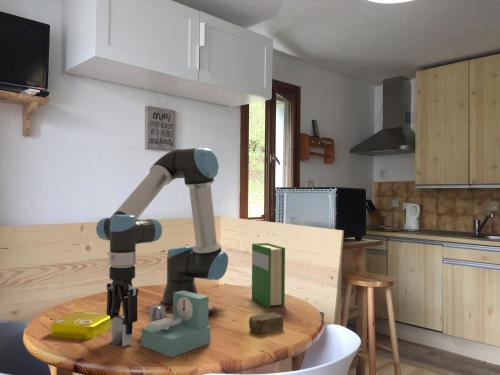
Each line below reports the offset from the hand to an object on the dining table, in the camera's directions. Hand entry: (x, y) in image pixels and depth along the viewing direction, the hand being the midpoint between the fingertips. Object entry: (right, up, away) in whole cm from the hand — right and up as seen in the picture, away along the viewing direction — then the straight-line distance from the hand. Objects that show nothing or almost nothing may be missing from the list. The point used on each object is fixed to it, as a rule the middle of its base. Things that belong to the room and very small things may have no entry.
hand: (121, 342), depth 126 cm
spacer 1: (0, 0, 0) cm, 0 cm away
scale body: (+17, 0, 0) cm, 17 cm away
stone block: (+45, -2, +14) cm, 47 cm away
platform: (+14, +5, -3) cm, 15 cm away
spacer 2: (+8, -1, +11) cm, 14 cm away
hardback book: (+47, -2, +51) cm, 69 cm away
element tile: (-16, -1, +12) cm, 20 cm away
